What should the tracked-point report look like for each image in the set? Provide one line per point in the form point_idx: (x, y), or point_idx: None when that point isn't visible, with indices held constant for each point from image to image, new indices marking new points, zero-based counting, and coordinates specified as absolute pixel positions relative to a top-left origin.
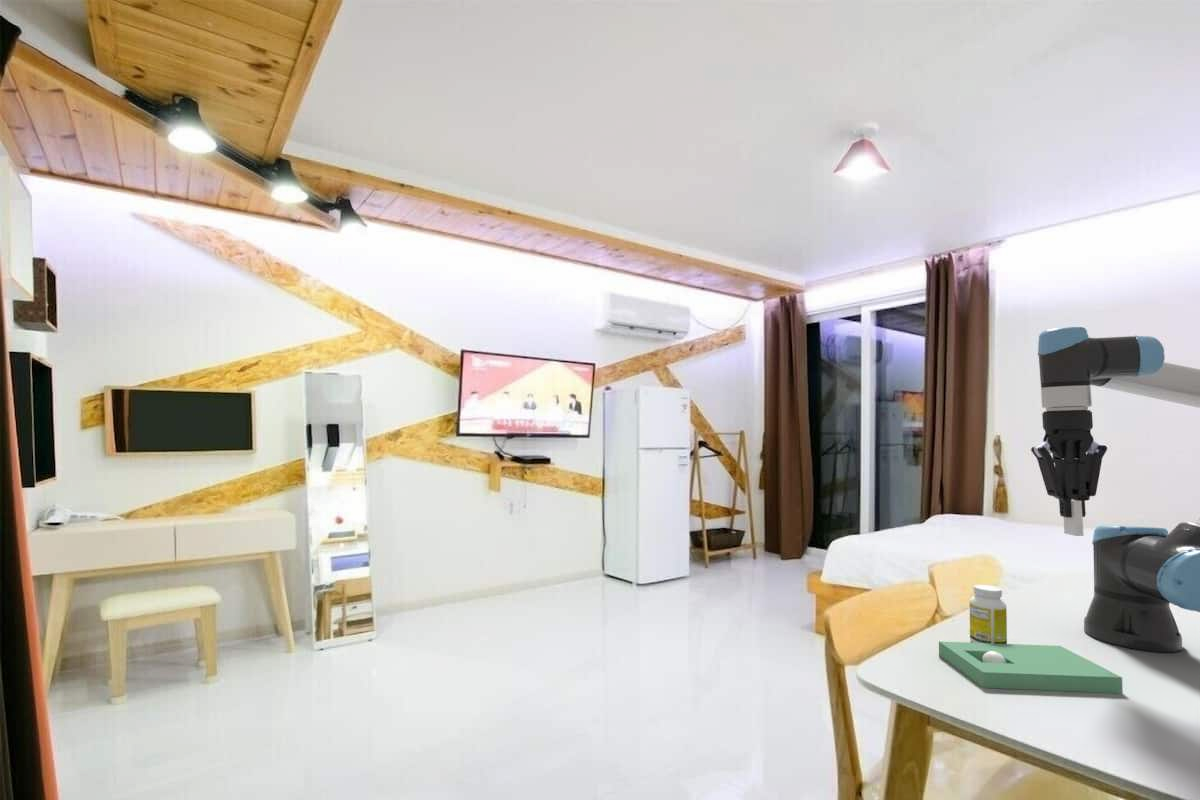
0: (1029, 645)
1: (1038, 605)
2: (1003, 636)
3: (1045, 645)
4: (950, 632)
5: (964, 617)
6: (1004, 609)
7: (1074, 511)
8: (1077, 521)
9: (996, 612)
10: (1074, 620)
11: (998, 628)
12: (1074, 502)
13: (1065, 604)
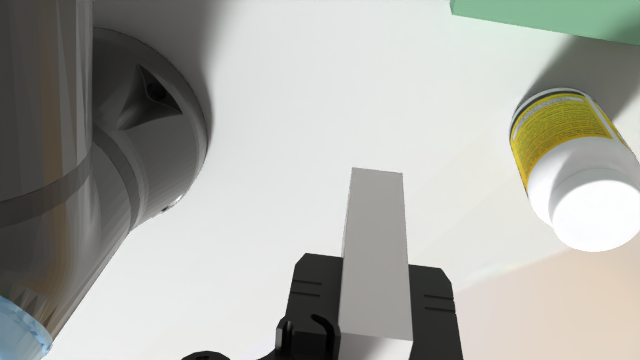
0: (551, 24)
1: (160, 337)
2: (558, 100)
3: (499, 20)
4: None
5: None
6: (570, 138)
7: (404, 275)
8: (385, 224)
9: (603, 133)
10: (153, 247)
11: (582, 110)
12: (406, 327)
13: (88, 334)
